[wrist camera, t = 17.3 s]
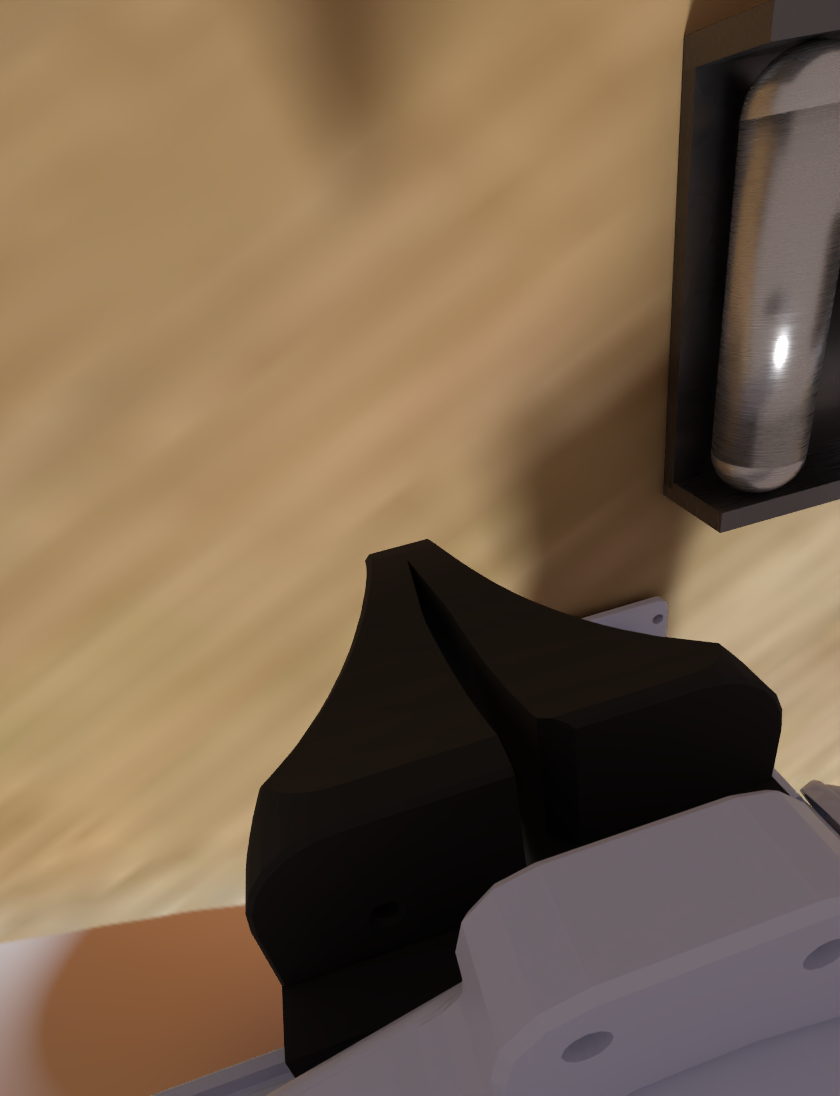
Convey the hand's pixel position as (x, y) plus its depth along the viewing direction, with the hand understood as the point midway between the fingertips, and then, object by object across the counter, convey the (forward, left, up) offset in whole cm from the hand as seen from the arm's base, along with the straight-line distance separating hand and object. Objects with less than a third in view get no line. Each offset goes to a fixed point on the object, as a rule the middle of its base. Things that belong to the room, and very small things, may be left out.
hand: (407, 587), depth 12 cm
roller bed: (+2, -19, -9) cm, 21 cm away
